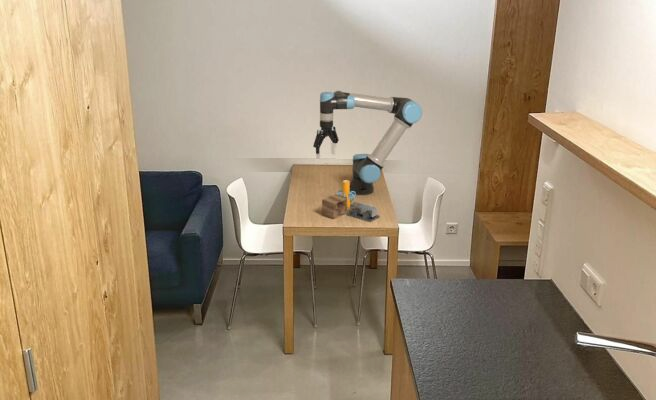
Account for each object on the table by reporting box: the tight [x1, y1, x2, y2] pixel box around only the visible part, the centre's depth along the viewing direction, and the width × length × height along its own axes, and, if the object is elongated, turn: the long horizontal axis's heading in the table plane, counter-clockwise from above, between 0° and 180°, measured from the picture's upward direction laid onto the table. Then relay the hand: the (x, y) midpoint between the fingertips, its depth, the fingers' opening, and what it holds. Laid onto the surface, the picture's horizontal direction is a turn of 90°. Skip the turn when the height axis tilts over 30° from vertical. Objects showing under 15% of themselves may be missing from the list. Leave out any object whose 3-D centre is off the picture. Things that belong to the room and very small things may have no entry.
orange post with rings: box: [336, 179, 357, 208], centre depth 350 cm, size 12×10×15 cm
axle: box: [349, 201, 378, 217], centre depth 336 cm, size 4×15×4 cm, turn 52°
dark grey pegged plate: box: [345, 209, 380, 223], centre depth 337 cm, size 9×16×4 cm, turn 51°
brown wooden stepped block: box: [321, 193, 348, 220], centre depth 338 cm, size 12×8×9 cm, turn 141°
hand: (326, 156), depth 353 cm, fingers open, 13 cm apart
